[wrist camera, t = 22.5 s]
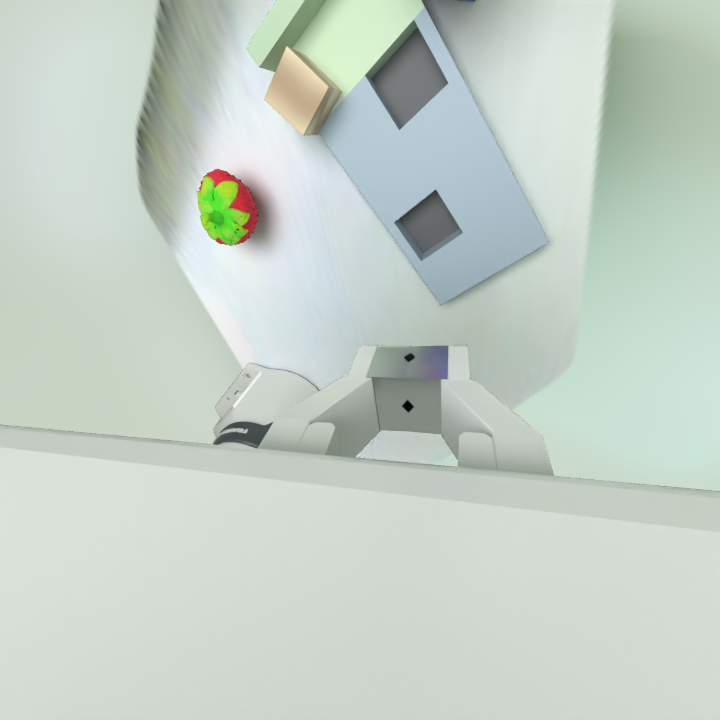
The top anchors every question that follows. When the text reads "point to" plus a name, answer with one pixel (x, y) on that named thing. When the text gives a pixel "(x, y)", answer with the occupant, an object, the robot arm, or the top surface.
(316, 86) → the beech block
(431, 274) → the trap board
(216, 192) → the strawberry
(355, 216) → the top surface
